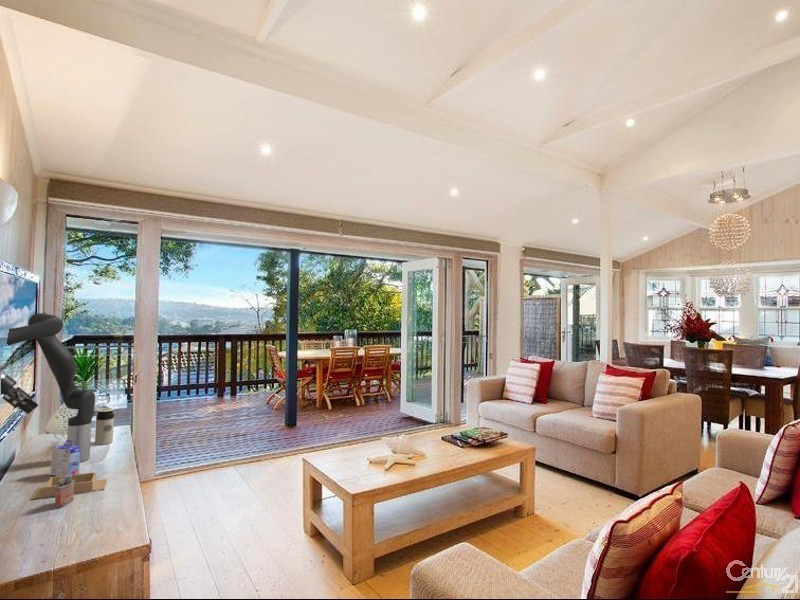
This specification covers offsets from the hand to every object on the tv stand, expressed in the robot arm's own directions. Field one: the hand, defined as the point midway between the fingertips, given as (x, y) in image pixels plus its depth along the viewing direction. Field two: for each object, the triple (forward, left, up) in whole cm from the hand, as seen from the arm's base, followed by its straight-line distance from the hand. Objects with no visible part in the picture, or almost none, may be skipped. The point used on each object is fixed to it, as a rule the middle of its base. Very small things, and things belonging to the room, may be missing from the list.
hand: (33, 409), depth 174 cm
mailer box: (0, +14, -33) cm, 35 cm away
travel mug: (-64, +19, -33) cm, 74 cm away
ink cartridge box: (-18, +9, -33) cm, 38 cm away
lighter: (+16, +14, -33) cm, 39 cm away
